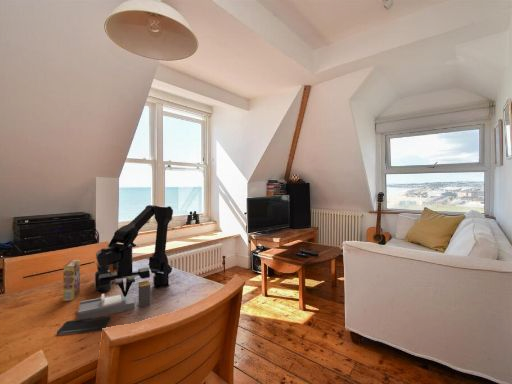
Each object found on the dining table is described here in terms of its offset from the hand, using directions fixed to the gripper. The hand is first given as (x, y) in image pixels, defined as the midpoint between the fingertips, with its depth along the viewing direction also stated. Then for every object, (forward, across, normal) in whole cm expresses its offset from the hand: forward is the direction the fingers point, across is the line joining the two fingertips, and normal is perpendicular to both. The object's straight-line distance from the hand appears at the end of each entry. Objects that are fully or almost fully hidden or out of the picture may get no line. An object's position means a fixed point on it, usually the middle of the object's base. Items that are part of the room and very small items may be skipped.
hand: (125, 296), depth 107 cm
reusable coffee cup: (+4, +5, -35) cm, 36 cm away
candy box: (+4, +20, -20) cm, 28 cm away
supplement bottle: (+4, +8, -21) cm, 23 cm away
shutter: (+1, +5, 0) cm, 5 cm away
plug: (+4, -7, +3) cm, 9 cm away
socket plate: (+4, +6, 0) cm, 7 cm away
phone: (+4, +13, +11) cm, 18 cm away
